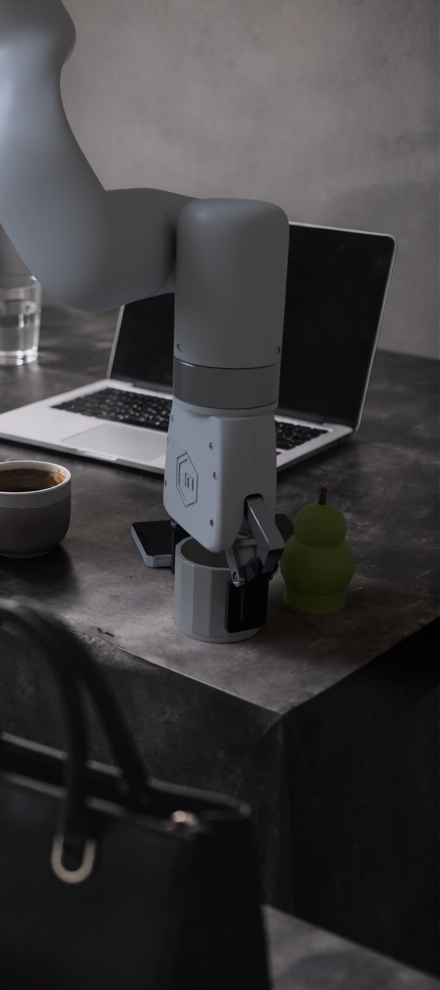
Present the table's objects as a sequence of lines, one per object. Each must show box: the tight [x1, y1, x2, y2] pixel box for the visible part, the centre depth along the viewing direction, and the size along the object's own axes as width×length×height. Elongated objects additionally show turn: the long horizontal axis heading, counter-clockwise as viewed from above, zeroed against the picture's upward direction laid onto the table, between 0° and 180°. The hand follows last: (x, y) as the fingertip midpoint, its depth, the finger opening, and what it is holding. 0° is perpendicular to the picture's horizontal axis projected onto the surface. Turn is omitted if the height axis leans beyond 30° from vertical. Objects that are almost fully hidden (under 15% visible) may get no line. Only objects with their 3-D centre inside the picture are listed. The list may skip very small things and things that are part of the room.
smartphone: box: [130, 513, 294, 568], centre depth 89 cm, size 8×1×15 cm
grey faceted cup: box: [173, 535, 261, 644], centre depth 75 cm, size 7×7×6 cm
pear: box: [279, 485, 356, 616], centre depth 78 cm, size 6×6×10 cm
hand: (216, 599), depth 75 cm, fingers open, 9 cm apart
